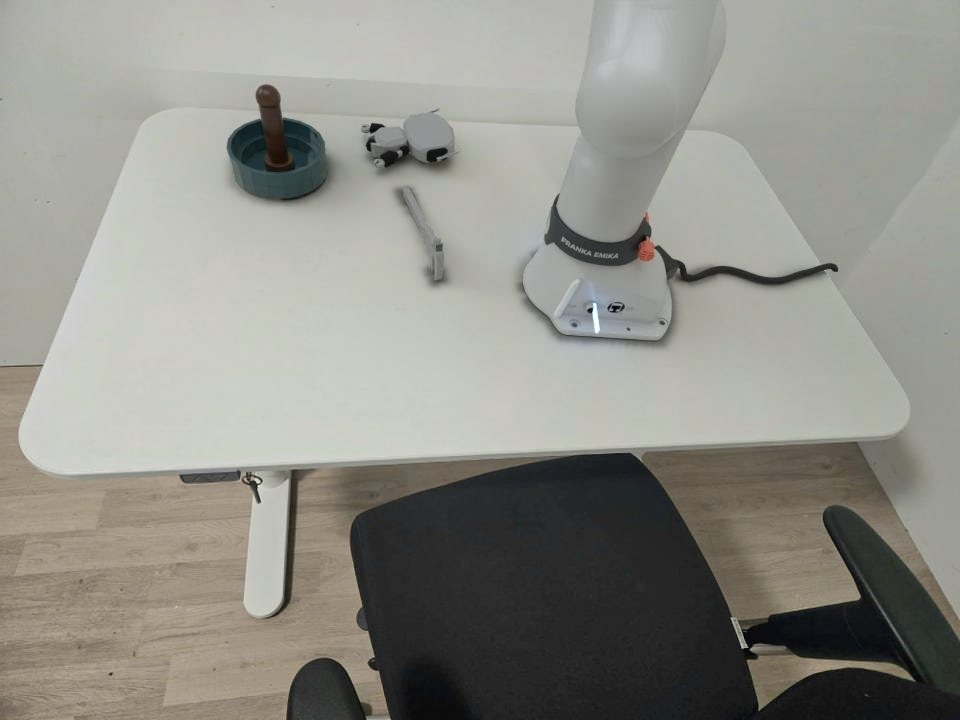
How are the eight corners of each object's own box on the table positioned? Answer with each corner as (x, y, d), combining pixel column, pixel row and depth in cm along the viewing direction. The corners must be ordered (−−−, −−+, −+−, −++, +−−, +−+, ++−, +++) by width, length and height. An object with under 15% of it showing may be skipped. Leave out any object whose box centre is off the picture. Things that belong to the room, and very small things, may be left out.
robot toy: (376, 184, 94) (462, 169, 98) (373, 160, 90) (464, 146, 94) (359, 138, 100) (442, 126, 104) (356, 115, 97) (442, 103, 100)
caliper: (442, 281, 83) (446, 250, 78) (435, 283, 82) (438, 251, 77) (407, 190, 93) (408, 156, 88) (400, 190, 93) (401, 157, 88)
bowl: (338, 155, 96) (336, 128, 92) (309, 210, 87) (306, 183, 83) (255, 137, 95) (249, 109, 91) (218, 189, 87) (210, 161, 83)
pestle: (299, 163, 92) (287, 81, 81) (289, 180, 90) (275, 97, 79) (272, 157, 92) (256, 74, 81) (261, 173, 90) (244, 90, 79)
